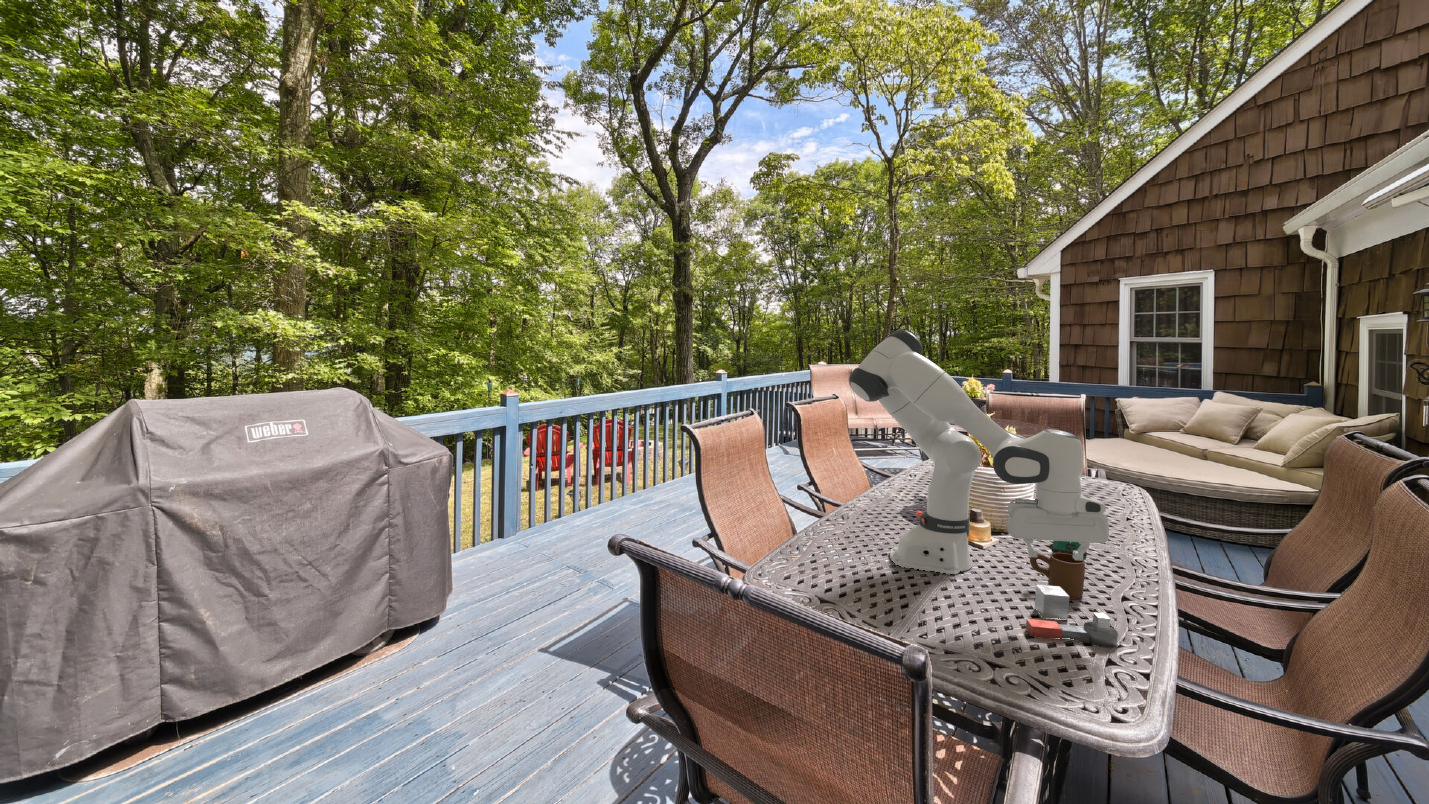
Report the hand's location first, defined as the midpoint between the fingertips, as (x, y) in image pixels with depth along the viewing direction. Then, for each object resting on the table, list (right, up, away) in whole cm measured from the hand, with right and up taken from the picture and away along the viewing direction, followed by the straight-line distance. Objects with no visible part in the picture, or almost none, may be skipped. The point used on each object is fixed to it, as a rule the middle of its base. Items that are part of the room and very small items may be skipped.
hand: (1054, 558), depth 126 cm
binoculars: (+24, -11, +33) cm, 42 cm away
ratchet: (-2, -15, -8) cm, 17 cm away
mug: (+9, -13, +14) cm, 21 cm away
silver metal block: (0, -14, +2) cm, 14 cm away
